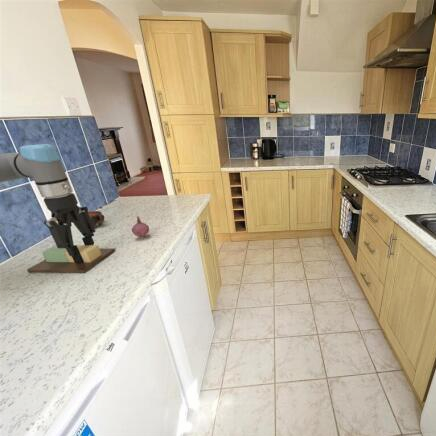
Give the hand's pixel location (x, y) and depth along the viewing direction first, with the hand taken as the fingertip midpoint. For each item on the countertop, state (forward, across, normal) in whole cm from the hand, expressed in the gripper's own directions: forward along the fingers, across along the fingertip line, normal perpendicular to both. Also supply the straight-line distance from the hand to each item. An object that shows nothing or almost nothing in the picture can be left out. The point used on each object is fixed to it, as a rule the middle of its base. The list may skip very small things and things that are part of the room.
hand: (86, 257), depth 86 cm
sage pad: (0, 0, +8) cm, 9 cm away
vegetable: (+2, +18, -9) cm, 20 cm away
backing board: (+1, 0, +5) cm, 5 cm away
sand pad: (0, 0, 0) cm, 0 cm away
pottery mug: (+1, +30, +22) cm, 37 cm away
